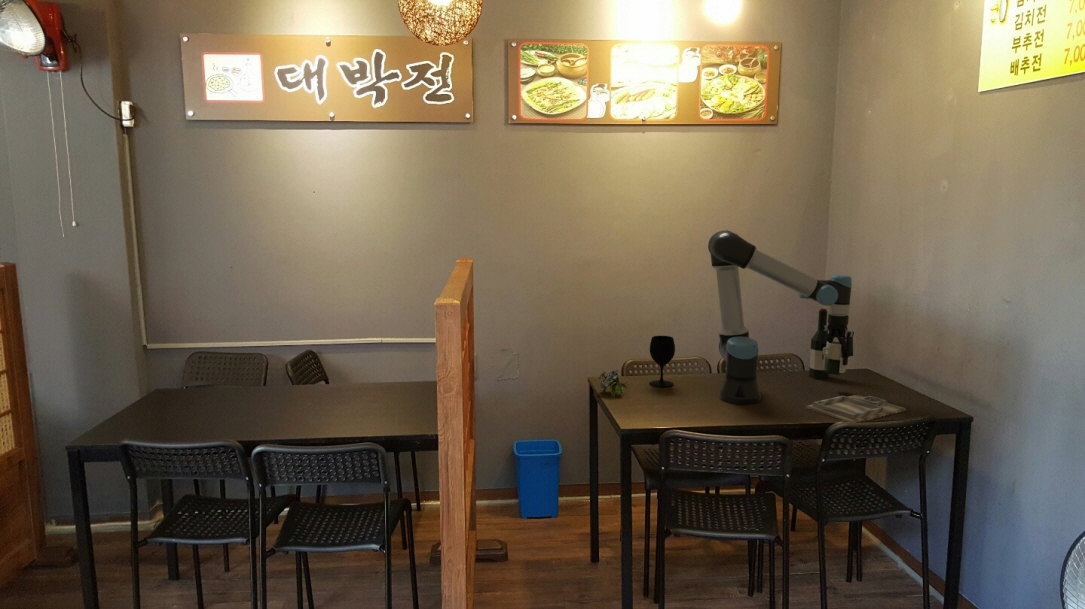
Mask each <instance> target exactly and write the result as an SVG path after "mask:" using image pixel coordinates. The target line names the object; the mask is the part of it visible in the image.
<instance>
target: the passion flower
mask: <svg viewBox="0 0 1085 609" xmlns="http://www.w3.org/2000/svg"><path fill="white" fill-rule="evenodd" d="M618 372H619V369H615V370H612V371H610V372H608V373H607V371H605V370H604V371H603V372H602V373H601V374H600V375H599V378H598V380H600V379H601V378H602V380H601V381H600V386H599V387H600V389H602V390H601V392H600V393H601V394H603V393H605V391H606V390H607V388H608V387H609V389H610V391H611V392H610V393H611V397H613V398H615V396H616V394H617V396H620V395H621V394H623V393H624V390H625V389H627V390H628V388H629V382H624V383H623V382H620V379H619V374H618Z"/></svg>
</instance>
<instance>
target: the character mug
mask: <svg viewBox="0 0 1085 609" xmlns="http://www.w3.org/2000/svg"><path fill="white" fill-rule="evenodd" d="M825 350H826V353H825ZM823 355H826V357H827V358H829V360H828V362H827V366H826V371H825V372H827V373H830V374H829V375H836V376H838V375H839V376H840V375H842V374H843V373H839V368H840V357H841V356H842V352H841V344H840V343H839V340H833V342H832V343H828V341H827V345H826V347H824V348H823Z"/></svg>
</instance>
